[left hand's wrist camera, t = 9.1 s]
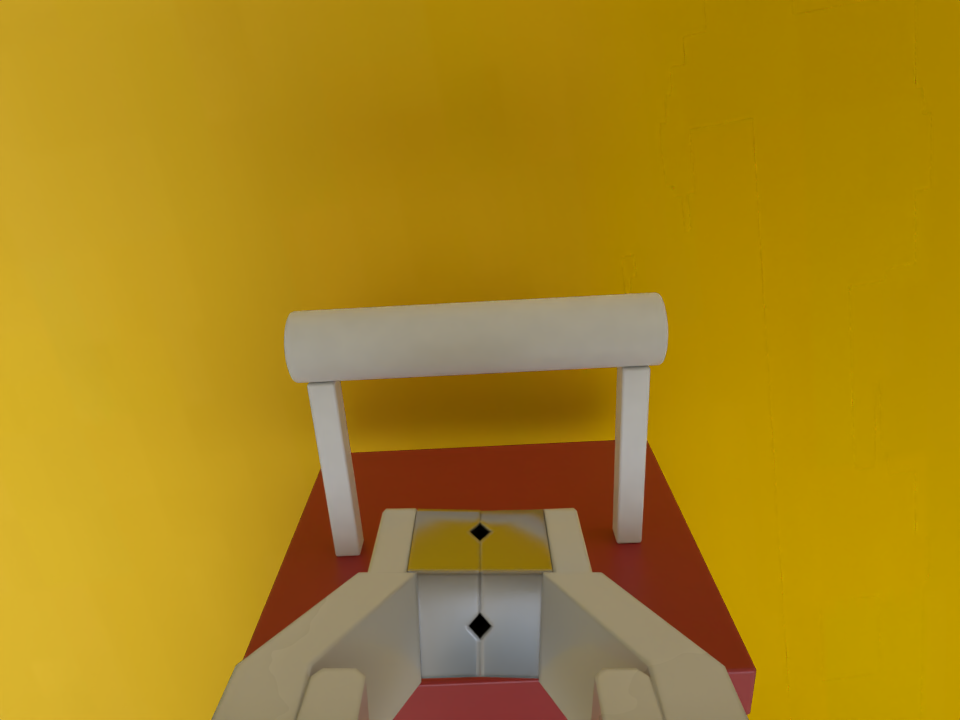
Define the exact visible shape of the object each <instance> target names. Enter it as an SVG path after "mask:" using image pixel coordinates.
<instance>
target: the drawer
mask: <svg viewBox="0 0 960 720" xmlns="http://www.w3.org/2000/svg"><path fill="white" fill-rule="evenodd" d="M667 345H668V322H667V314H666V309H665V305H664V302H663V299H662V297H661V296H660V294H658V293H637V294H617V295H598V296H579V297H559V298H540V299H521V300H501V301H482V302H462V303H443V304H424V305H404V306H385V307H366V308H346V309H327V310H308V311H293V312H291V313H290V314H289V316H288V318H287V321H286V325H285V333H284V350H285V358H286V363H287V367H288V371H289V373H290V376H291V378H292V379H293V380H294V381H295V382H297V383H306V382H309V383H308V386H307V388H308V394H309V400H310V406H311V412H312V417H313V423H314V429H315V435H316V441H317V447H318V453H319V459H320V465H321V469H320V472H319V474H318V477H317V479H316V481H315V484H314V486H313V489H312V491H311V494H310V496H309V499H308V501H307V504H306V506H305V508H304V511H303V513H302V516H301V518H300V521H299V523H298V526H297V528H296V531H295V533H294V535H293V538H292V540H291V543H290V545H289V548H288V550H287V553H286V555H285V558H284V560H283V562H282V565H281V567H280V570H279V572H278V575H277V577H276V580H275V582H274V585H273V587H272V589H271V592H270V594H269V597H268V599H267V602H266V604H265V607H264V609H263V612H262V614H261V616H260V619H259V621H258V624H257V626H256V629H255V631H254V634H253V636H252V639H251V641H250V643H249V646H248V648H247V651H246V653H245V656H244V658H243V660H244V659H245V658H246V657H248V656H249V655H250V654H251V653H253V652H254V651H255V650H257V649H258V648H259V647H261V646H262V645H263V644H265V643H266V642H267V641H269V640H270V639H271V638H273V637H274V636H275V635H277V634H278V633H279V632H281V631H282V630H283V629H284V628H286V627H287V626H288V625H290V624H291V623H292V622H294V621H295V620H296V619H298V618H299V617H300V616H302V615H303V614H304V613H306V612H307V611H308V610H310V609H311V608H312V607H313V606H315V605H316V604H317V603H319V602H320V601H321V600H323V599H324V598H325V597H327V596H328V595H329V594H331V593H332V592H333V591H335V590H336V589H337V588H339V587H340V586H341V585H342V584H344V583H345V582H346V581H348V580H349V579H350V578H352V577H353V576H354V575H356V574H357V573H359V572H368V569H369V565H370V561H371V557H372V553H373V549H374V545H375V541H376V537H377V533H378V529H379V525H380V521H381V517H382V513H383V512H384V510H385V509H389V508H416V509H417V510H418V509H465V510H480V511H494V510H534V509H558V508H574V509H575V510H576V511H577V514H578V518H579V521H580V525H581V529H582V533H583V537H584V541H585V545H586V549H587V553H588V557H589V561H590V565H591V569H592V572H601V573H603V574H604V575H606V576H607V577H608V578H610V579H611V580H612V581H614V582H615V583H616V584H617V585H619V586H620V587H621V588H623V589H624V590H625V591H627V592H628V593H629V594H631V595H632V596H633V597H635V598H636V599H637V600H638V601H640V602H641V603H642V604H644V605H645V606H646V607H648V608H649V609H650V610H652V611H653V612H654V613H656V614H657V615H658V616H659V617H661V618H662V619H663V620H665V621H666V622H667V623H669V624H670V625H671V626H673V627H674V628H675V629H677V630H678V631H679V632H680V633H682V634H683V635H684V636H686V637H687V638H688V639H690V640H691V641H692V642H694V643H695V644H696V645H698V646H699V647H700V648H701V649H703V650H704V651H705V652H707V653H708V654H709V655H711V656H712V657H713V658H715V659H716V660H717V661H719V662H720V663H721V664H722V665H724V666H725V668H726V670H727V672H728V675H729V677H730V679H731V681H732V684H733V686H734V688H735V690H736V693H737V695H738V697H739V699H740V702H741V704H742V706H743V708H744V710H745V713H746V715H748V714H750V710H751V703H752V696H753V690H754V683H755V676H756V668H755V666H754V664H753V662H752V660H751V658H750V656H749V654H748V651H747V649H746V647H745V645H744V643H743V641H742V639H741V637H740V635H739V632H738V630H737V628H736V626H735V624H734V622H733V620H732V618H731V616H730V614H729V611H728V609H727V607H726V605H725V603H724V601H723V599H722V597H721V595H720V593H719V590H718V588H717V586H716V584H715V582H714V580H713V578H712V576H711V574H710V572H709V569H708V567H707V565H706V563H705V561H704V559H703V557H702V555H701V553H700V551H699V548H698V546H697V544H696V542H695V540H694V538H693V536H692V534H691V532H690V530H689V527H688V525H687V523H686V521H685V519H684V517H683V515H682V513H681V511H680V509H679V506H678V504H677V502H676V500H675V498H674V496H673V494H672V492H671V490H670V488H669V485H668V483H667V481H666V479H665V477H664V475H663V473H662V471H661V469H660V467H659V464H658V462H657V460H656V458H655V456H654V454H653V452H652V450H651V448H650V446H649V443H648V441H647V425H648V405H649V385H650V368H649V366H648V365H660V364H661V363H662V362H663V361H664V359H665V356H666V351H667ZM607 367H617V396H616V430H615V440H608V441H588V442H567V443H546V444H525V445H504V446H483V447H462V448H441V449H421V450H400V451H379V452H358V453H351V450H350V443H349V437H348V430H347V423H346V416H345V409H344V403H343V396H342V389H341V382H340V381H346V380H366V379H386V378H406V377H426V376H446V375H466V374H486V373H506V372H527V371H547V370H567V369H587V368H607ZM393 720H568V719H567V718H566V717H565V715H564V714H563V713H562V711H561V710H560V709H559V708H558V706H557V705H556V704H555V702H554V701H553V700H552V698H551V697H550V696H549V694H548V693H547V692H546V690H545V689H544V688H543V686H542V685H541V684H540V682H539V679H535V678H500V677H459V678H425V679H421V683H420V684H419V686H418V687H417V688H416V690H415V691H414V692H413V694H412V695H411V696H410V698H409V699H408V700H407V702H406V703H405V704H404V705H403V707H402V708H401V709H400V711H399V712H398V713H397V715H396V716H395V717H394V719H393Z"/></svg>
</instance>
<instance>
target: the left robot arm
mask: <svg viewBox="0 0 960 720" xmlns="http://www.w3.org/2000/svg"><path fill="white" fill-rule="evenodd" d="M459 677H500V678H535V679H539V682H540V684H541V685H542V686H543V688H544V689H545V690H546V692H547V693H548V694H549V696H550V697H551V698H552V700H553V701H554V702H555V704H556V705H557V706H558V708H559V709H560V710H561V711H562V713H563V714H564V715H565V717H566V718H567V719H568V720H749V719H748V717H747V715H746V713H745V710H744V708H743V706H742V704H741V702H740V699H739V697H738V695H737V693H736V690H735V688H734V686H733V684H732V681H731V679H730V677H729V675H728V672H727V670H726V668H725V666H724V665H722V664H721V663H720V662H719V661H717V660H716V659H715V658H713V657H712V656H711V655H709V654H708V653H707V652H705V651H704V650H703V649H701V648H700V647H699V646H698V645H696V644H695V643H694V642H692V641H691V640H690V639H688V638H687V637H686V636H684V635H683V634H682V633H680V632H679V631H678V630H677V629H675V628H674V627H673V626H671V625H670V624H669V623H667V622H666V621H665V620H663V619H662V618H661V617H659V616H658V615H657V614H656V613H654V612H653V611H652V610H650V609H649V608H648V607H646V606H645V605H644V604H642V603H641V602H640V601H638V600H637V599H636V598H635V597H633V596H632V595H631V594H629V593H628V592H627V591H625V590H624V589H623V588H621V587H620V586H619V585H617V584H616V583H615V582H614V581H612V580H611V579H610V578H608V577H607V576H606V575H604V574H603V573H601V572H592V569H591V565H590V561H589V557H588V553H587V549H586V545H585V541H584V537H583V533H582V529H581V525H580V521H579V518H578V514H577V511H576V510H575V509H574V508H558V509H534V510H494V511H480V510H465V509H418V510H417V509H416V508H389V509H385V510H384V512H383V513H382V517H381V521H380V525H379V529H378V533H377V537H376V541H375V545H374V549H373V553H372V557H371V561H370V565H369V569H368V572H359V573H357V574H356V575H354V576H353V577H352V578H350V579H349V580H348V581H346V582H345V583H344V584H342V585H341V586H340V587H339V588H337V589H336V590H335V591H333V592H332V593H331V594H329V595H328V596H327V597H325V598H324V599H323V600H321V601H320V602H319V603H317V604H316V605H315V606H313V607H312V608H311V609H310V610H308V611H307V612H306V613H304V614H303V615H302V616H300V617H299V618H298V619H296V620H295V621H294V622H292V623H291V624H290V625H288V626H287V627H286V628H284V629H283V630H282V631H281V632H279V633H278V634H277V635H275V636H274V637H273V638H271V639H270V640H269V641H267V642H266V643H265V644H263V645H262V646H261V647H259V648H258V649H257V650H255V651H254V652H253V653H251V654H250V655H249V656H248V657H246V658H245V659H244V660H242V661H241V662H240V663H238V664H237V665H236V666H235V669H234V671H233V673H232V675H231V677H230V680H229V682H228V684H227V686H226V689H225V691H224V693H223V695H222V697H221V700H220V702H219V704H218V706H217V708H216V711H215V713H214V715H213V717H212V720H393V719H394V717H395V716H396V715H397V713H398V712H399V711H400V709H401V708H402V707H403V705H404V704H405V703H406V702H407V700H408V699H409V698H410V696H411V695H412V694H413V692H414V691H415V690H416V688H417V687H418V686H419V684H420V683H421V679H425V678H459Z"/></svg>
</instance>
